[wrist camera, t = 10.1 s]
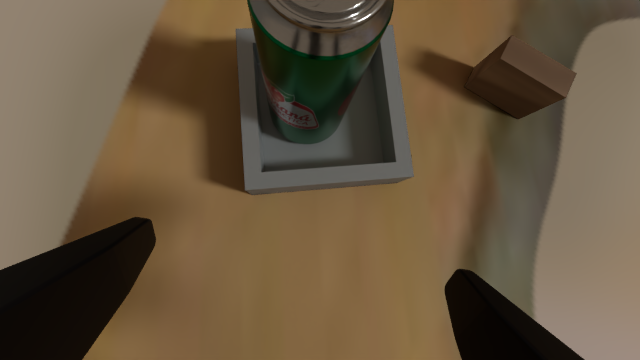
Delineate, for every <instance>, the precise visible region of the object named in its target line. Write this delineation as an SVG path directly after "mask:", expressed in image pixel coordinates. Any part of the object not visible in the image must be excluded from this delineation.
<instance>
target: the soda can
mask: <svg viewBox="0 0 640 360" xmlns="http://www.w3.org/2000/svg"><path fill="white" fill-rule="evenodd" d="M247 2H248V7H249V12H250V17H251V22H252V27H253V32H254V37H255V42H256V47H257V52H258V57H259V62H260V66H261V71H262V76H263V81H264V86H265V91H266V96H267V101H268V106H269V111H270V116H271V119H272V122H273V124H274V126H275V127H276V129H277V130H278V131H279V132H280V133H281V134H282V135H283V136H284V137H286V138H287V139H289V140H291V141H293V142H296V143H299V144H315V143H319V142H322V141H324V140H326V139H327V138H329V137H330V136H331V135H332V134H333V133H334V132H335V131H336V130H337V128H338V127H339V125H340V123H341V121H342V119H343V117H344V114H345V112H346V110H347V108H348V106H349V104H350V102H351V100H352V98H353V96H354V94H355V92H356V90H357V88H358V86H359V84H360V82H361V79H362V77H363V75H364V73H365V71H366V69H367V67H368V65H369V63H370V61H371V59H372V57H373V55H374V53H375V51H376V49H377V47H378V44H379V42H380V40H381V38H382V36H383V34H384V32H385V30H386V28H387V26H388V24H389V22H390V19H391V16H392V12H393V5H394V0H247Z"/></svg>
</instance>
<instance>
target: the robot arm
mask: <svg viewBox="0 0 640 360" xmlns="http://www.w3.org/2000/svg"><path fill="white" fill-rule="evenodd" d="M155 242H156V237H155V233H154V229H153V224H152V221H151V220H150V219H147V218H141V217H134V218H131V219H128V220H126V221H123V222H121V223H118V224H116V225H113V226H111V227H108V228H106V229H103V230H101V231H98V232H95V233H93V234H90V235H88V236H85V237H83V238H80V239H78V240H75V241H73V242H70V243H68V244H65V245H63V246H60V247H58V248H55V249H52V250H50V251H47V252H45V253H42V254H40V255H37V256H35V257H32V258H30V259H27V260H25V261H22V262H20V263H17V264H15V265H12V266H9V267H7V268H4V269H2V270H0V360H82V359H83V358H84V356H85V355H86V353H87V352H88V351H89V349H90V348H91V346H92V345H93V344H94V342H95V341H96V339H97V338H98V336H99V335H100V334H101V332H102V331H103V329H104V328H105V326H106V325H107V324H108V322H109V321H110V319H111V318H112V316H113V315H114V314H115V312H116V311H117V309H118V308H119V306H120V305H121V304H122V302H123V301H124V299H125V298H126V296H127V295H128V293H129V292H130V290H131V288H132V287H133V285H134V283H135V281H136V280H137V278H138V276H139V274H140V272H141V270H142V269H143V267H144V265H145V263H146V261H147V259H148V258H149V256H150V254H151V252H152V250H153V248H154V246H155ZM445 296H446V301H447V305H448V310H449V314H450V319H451V323H452V328H453V332H454V336H455V340H456V343H457V346H458V349H459V352H460V355H461V358H462V360H584V359H583V358H582V357H580V356H579V355H578V354H577V353H575V352H574V351H573V350H572V349H570V348H569V347H568V346H567V345H565V344H564V343H563V342H561V341H560V340H559V339H558V338H556V337H555V336H554V335H552V334H551V333H550V332H549V331H548V330H546V329H545V328H544V327H542V326H541V325H540V324H539V323H537V322H536V321H535V320H534V319H532V318H531V317H530V316H528V315H527V314H526V313H525V312H523V311H522V310H521V309H520V308H518V307H517V306H516V305H515V304H513V303H512V302H511V301H509V300H508V299H507V298H506V297H504V296H503V295H502V294H501V293H499V292H498V291H497V290H496V289H494V288H493V287H492V286H490V285H489V284H488V283H487V282H485V281H484V280H483V279H482V278H480V277H479V276H478V275H477V274H475V273H474V272H472V271H470V270H465V269H457V270H456V271H455V272H454V274H453V275H452V276H451V278H450V279H449V280H448V282H447V283H446V285H445Z"/></svg>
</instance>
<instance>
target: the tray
mask: <svg viewBox="0 0 640 360" xmlns="http://www.w3.org/2000/svg"><path fill="white" fill-rule="evenodd" d="M236 44H237V61H238V78H239V95H240V112H241V129H242V147H243V164H244V181H245V191H247V192H248V193H250V194H251V195H258V194H270V193H282V192H294V191H306V190H318V189H330V188H342V187H354V186H366V185H378V184H390V183H398V182H401V181H403V180H406V179H408V178H411V177H414V174H413V167H412V160H411V153H410V146H409V138H408V131H407V124H406V117H405V110H404V103H403V96H402V88H401V81H400V74H399V67H398V60H397V53H396V45H395V38H394V31H393V25H388V26H387V28H386V30H385V32H384V34H383V36H382V38H381V40H380V42H379V44H378V47H377V49H376V51H375V53H374V55H373V57H372V59H371V61H370V63H369V65H368V67H367V69H366V71H365V73H364V75H363V77H362V79H361V82H360V84H359V86H358V88H357V90H356V92H355V94H354V96H353V98H352V100H351V102H350V104H349V106H348V108H347V110H346V112H345V114H344V117H343V119H342V121H341V123H340V125H339V127H338V128H337V130H336V131H335V132H334V133H333V134H332V135H331V136H330V137H329V138H327V139H326V140H324V141H322V142H319V143H315V144H299V143H296V142H293V141H291V140H289V139H287V138H286V137H284V136H283V135H282V134H281V133H280V132H279V131H278V130H277V129H276V127H275V126H274V124H273V122H272V119H271V116H270V111H269V106H268V101H267V96H266V91H265V86H264V81H263V76H262V71H261V66H260V62H259V57H258V52H257V47H256V42H255V37H254V32H253V28H250V29H236Z"/></svg>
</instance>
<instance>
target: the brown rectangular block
mask: <svg viewBox="0 0 640 360" xmlns="http://www.w3.org/2000/svg"><path fill="white" fill-rule="evenodd" d="M575 76H576V73H575V72H573V71H572V70H570V69H568V68H567V67H565V66H563V65H562V64H560V63H558V62H556V61H555V60H553V59H551V58H550V57H548V56H546V55H545V54H543V53H541V52H540V51H538V50H536V49H535V48H533V47H531V46H530V45H528V44H526V43H525V42H523V41H521V40H520V39H518V38H516V37H515V36H513V35H512V36H510V37H509V38H508V39H507V40H506V41H505V42H503V43H502V44H501V45H500V46H499V47H498V48H496V49H495V50H494V51H493V52H492V53H490V54H489V55H488V56H487V57H486V58H485V59H483V60H482V61H481V62H480V63H479V64H478V65H476V66H475V67H474V69H473V71H472V73H471V75H470V77H469V79H468V81H467V83H466V84H465V86H464V87H465V88H467V89H469V90H470V91H472V92H474V93H475V94H477V95H479V96H480V97H482V98H484V99H485V100H487V101H489V102H490V103H492V104H494V105H495V106H497V107H499V108H500V109H502V110H504V111H506V112H507V113H509V114H511V115H512V116H514V117H516V118H517V119H520V118H522V117H525V116H527V115H529V114H531V113H533V112H535V111H538V110H540V109H542V108H544V107H546V106H549V105H551V104H553V103H555V102H557V101H560V100H562V99H564V98H566V96H567V94H568V92H569V90H570V87H571V85H572V83H573V81H574V78H575Z"/></svg>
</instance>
